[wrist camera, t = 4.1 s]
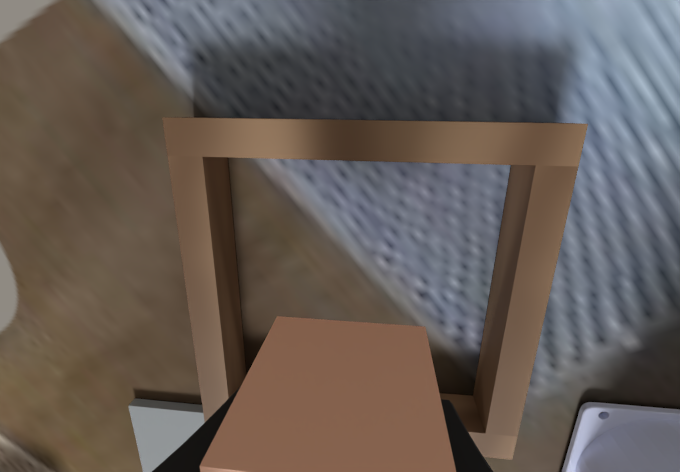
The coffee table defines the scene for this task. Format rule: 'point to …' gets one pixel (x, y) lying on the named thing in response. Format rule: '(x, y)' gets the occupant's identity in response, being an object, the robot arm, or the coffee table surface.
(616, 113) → the coffee table surface
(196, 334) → the well frame
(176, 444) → the tile
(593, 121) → the coffee table surface
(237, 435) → the terracotta block
